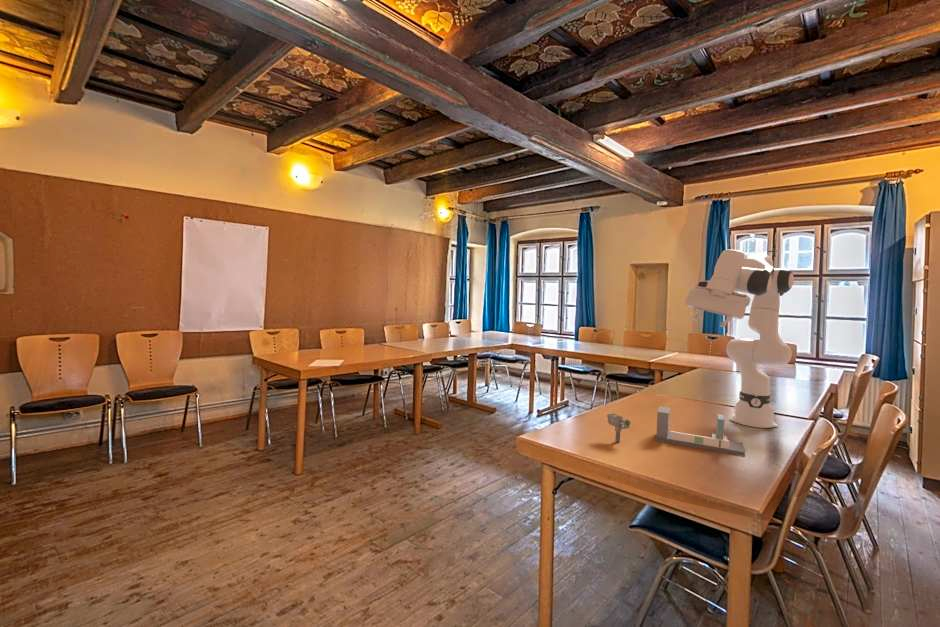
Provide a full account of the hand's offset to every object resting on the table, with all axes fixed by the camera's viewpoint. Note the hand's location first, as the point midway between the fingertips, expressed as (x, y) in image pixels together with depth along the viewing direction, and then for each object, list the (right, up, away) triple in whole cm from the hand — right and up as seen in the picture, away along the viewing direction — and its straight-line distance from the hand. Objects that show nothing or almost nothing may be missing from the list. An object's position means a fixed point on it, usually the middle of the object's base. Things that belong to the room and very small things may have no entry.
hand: (708, 323), depth 164 cm
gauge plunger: (+6, -46, +3) cm, 47 cm away
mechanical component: (-32, -47, +6) cm, 57 cm away
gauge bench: (0, -48, +7) cm, 48 cm away
